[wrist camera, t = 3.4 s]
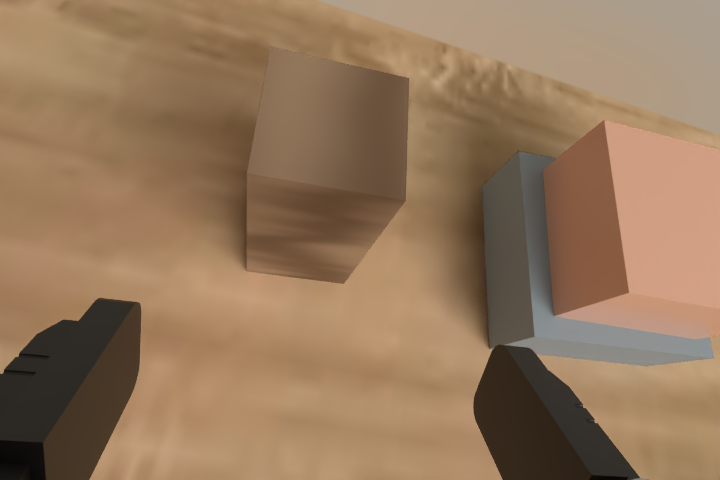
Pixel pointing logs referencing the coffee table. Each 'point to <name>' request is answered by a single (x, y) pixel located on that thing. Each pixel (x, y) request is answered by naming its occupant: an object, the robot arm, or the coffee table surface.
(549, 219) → the tower cap
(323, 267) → the pillar
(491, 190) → the tower base
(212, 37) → the coffee table surface
